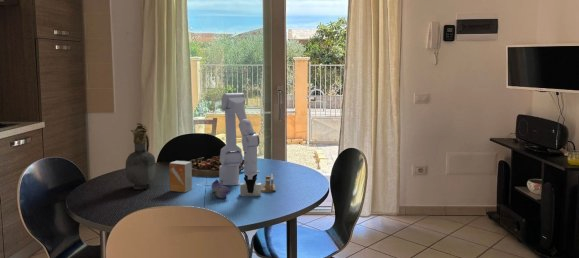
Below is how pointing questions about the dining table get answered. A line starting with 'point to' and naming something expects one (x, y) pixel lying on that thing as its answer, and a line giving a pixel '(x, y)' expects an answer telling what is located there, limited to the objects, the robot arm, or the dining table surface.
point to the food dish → (208, 167)
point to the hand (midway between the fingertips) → (250, 191)
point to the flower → (219, 190)
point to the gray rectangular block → (245, 192)
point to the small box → (180, 176)
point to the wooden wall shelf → (268, 185)
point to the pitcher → (140, 160)
